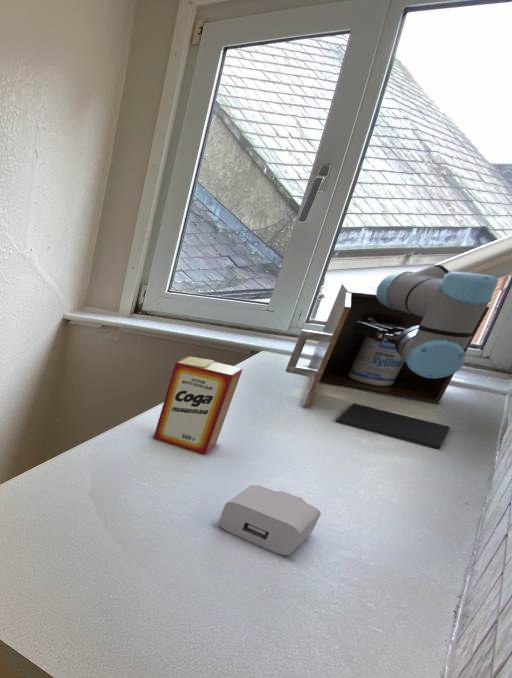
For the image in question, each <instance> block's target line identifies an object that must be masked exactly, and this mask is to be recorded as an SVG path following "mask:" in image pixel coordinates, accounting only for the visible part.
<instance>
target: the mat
mask: <svg viewBox="0 0 512 678" xmlns="http://www.w3.org/2000/svg"><path fill="white" fill-rule="evenodd" d="M335 422H336V423H339V424H342V425H346V426H349V427H354V428H357V429H361V430H365V431H369V432H373V433H375V434H381V435H383V436H387V437H391V438H395V439H398V440H402V441H407V442H411V443H413V444H418V445H421V446H424V447H429V448H433V449H436V450H440V448H441V447H442V444H443V442H444V440H445V438H446V436H447V435H448V433H449V430H450V428H451V426H449V425H445V424H441V423H437V422H433V421H429V420H424V419H420V418H416V417H413V416H408V415H404V414H400V413H396V412H392V411H388V410H383V409H379V408H375V407H371V406H367V405H363V404H359V403H352V404H351V405H350V406H348V408H347V409H346V410H345V411H344V412H343V413H342V414H341V415H340V416H338V417H337V419H335Z"/></svg>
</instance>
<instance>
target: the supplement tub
mask: <svg viewBox="0 0 512 678" xmlns="http://www.w3.org/2000/svg"><path fill="white" fill-rule="evenodd" d="M376 324H379V325H383V326H387V327H391V328H395V327H397V328H404V329H408V328H409V327H405V326H399V325H393V324H384V323H376ZM400 332H402V331H400ZM404 361H405V360H404V359H403V358H402V357H401V356H400V355H399V353H398V352H397V351H396V348H395V344H393V343H390V342H388V341H387V339H384V340H383V341H382V342H377V341H375V340H374V339H372V338H369V337H367V336H366V337H365V339H364V341H363V343H362V345H361V348H360V350H359V352H358V354H357V356H356V358H355V361H354V363H353V365H352V367H351V369H350V371H349V374H348V376H349V377H350V378H351V379H353V380H355V381H358V382H361V383H365V384H369V385H375V386H390V385H392V384H393V383H394V381H395V379H396V377H397V375H398V373H399V371H400V369H401V367H402V365H403V363H404Z"/></svg>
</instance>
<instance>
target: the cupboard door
mask: <svg viewBox="0 0 512 678" xmlns="http://www.w3.org/2000/svg"><path fill="white" fill-rule="evenodd" d="M350 308H351V293H346V295H345V297H344V299H343V302H342V304H341V307H340V309H339V312H338V314H337V316H336V319H335V321H334V324H333V326H332V328H331V331H330V333H322V332H323V331H317V330H316V331H315V330H309V329H301V330H300V331H299V336H298V337H297V340H296V343H295V345H294V347H293V349H292V350H293V351H292V353H291V356H290V358H289V360H288V363H287V366H286V369H285V372H286V373H289V374H293V375H299V376H305V377H310V379H309V382H308V386H307V390H306V394H305V398H304V401H303V405H302V406H303V407H305V408H309V406H310V404H311V403H312V400H313V397H314V395H315V393H316V390H317V388H318V386H319V384H320V383H319V381H320V379H321V376H322V374H323V372H324V369H325V367H326V364H327V362H328V360H329V357H330V355H331V353H332V350H333V348H334V346H335V343H336V341H337V339H338V336H339V334H340V331H341V329H342V327H343V324H344V322H345V320H346V317H347V315H348V313H349V310H350ZM308 340H313V341H325V342H326V343H325V345H324V348H323V350H322V352H321V355H320V357H319V360H318V362H317V364H316V367H315V369H311V368H309V367H306V366H299V365H298V362H299V360H300V357H301V355H302V353H303V350H304V347H305V344H306V343H307V341H308Z"/></svg>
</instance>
